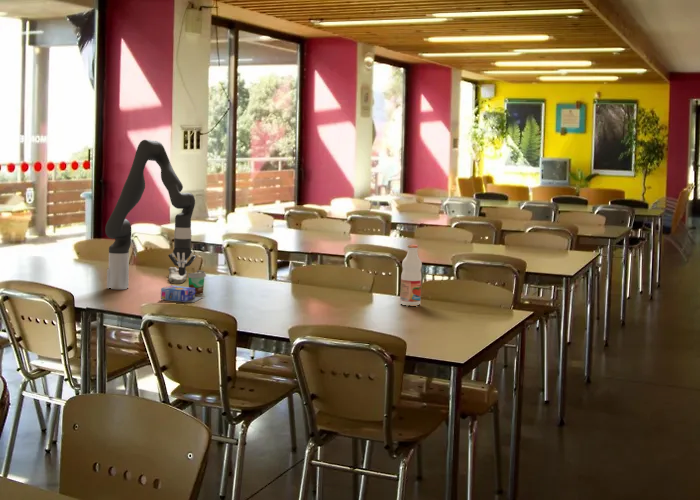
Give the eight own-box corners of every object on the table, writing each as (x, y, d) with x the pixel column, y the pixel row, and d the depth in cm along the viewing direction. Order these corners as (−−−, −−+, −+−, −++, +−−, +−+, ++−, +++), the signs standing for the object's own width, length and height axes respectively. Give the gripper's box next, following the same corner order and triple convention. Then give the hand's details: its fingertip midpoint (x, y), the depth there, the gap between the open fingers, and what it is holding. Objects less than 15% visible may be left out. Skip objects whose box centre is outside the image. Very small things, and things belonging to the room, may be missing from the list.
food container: (200, 295, 421) (200, 274, 420) (187, 294, 422) (188, 273, 421) (209, 291, 433) (209, 270, 432) (197, 290, 434) (197, 269, 433)
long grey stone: (165, 286, 451) (185, 288, 452) (166, 276, 450) (186, 277, 451) (168, 272, 485) (187, 274, 486) (169, 263, 484) (188, 264, 485)
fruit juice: (402, 302, 423) (405, 243, 420) (422, 304, 420) (425, 244, 417) (397, 305, 414) (400, 245, 411) (417, 307, 411) (420, 246, 408)
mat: (165, 300, 404) (165, 300, 404) (176, 296, 417) (176, 295, 417) (193, 302, 402) (193, 301, 402) (203, 297, 414) (203, 297, 414)
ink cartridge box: (172, 284, 413) (200, 288, 409) (171, 296, 414) (199, 300, 409) (160, 287, 404) (189, 291, 399) (160, 299, 404) (189, 303, 400)
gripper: (165, 237, 402) (165, 275, 404) (193, 238, 400) (193, 277, 402) (171, 235, 410) (171, 273, 412) (199, 237, 408) (198, 275, 410)
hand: (182, 275), depth 407 cm, fingers closed
